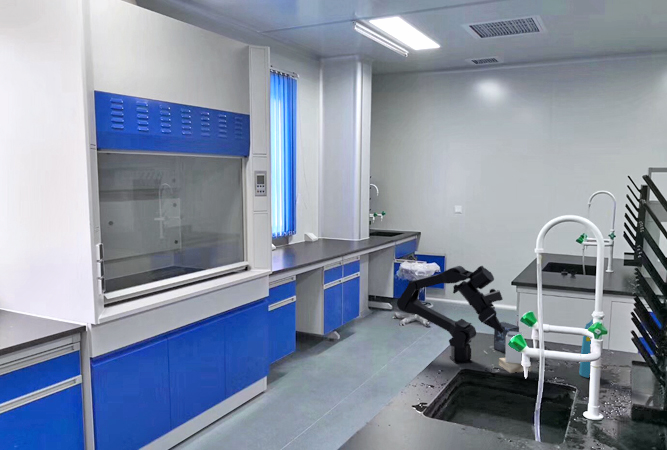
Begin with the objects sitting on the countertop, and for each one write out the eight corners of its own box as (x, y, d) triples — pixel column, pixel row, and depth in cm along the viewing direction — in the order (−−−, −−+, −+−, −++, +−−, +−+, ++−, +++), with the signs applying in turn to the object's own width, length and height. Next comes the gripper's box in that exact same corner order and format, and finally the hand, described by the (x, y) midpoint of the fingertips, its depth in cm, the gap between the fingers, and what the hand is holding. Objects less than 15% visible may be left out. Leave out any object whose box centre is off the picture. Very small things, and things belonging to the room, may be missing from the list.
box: (493, 349, 203) (493, 323, 202) (503, 346, 205) (504, 321, 204) (508, 354, 196) (509, 328, 195) (519, 352, 198) (519, 326, 198)
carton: (505, 361, 181) (505, 334, 180) (507, 357, 186) (507, 330, 185) (521, 364, 178) (522, 336, 178) (523, 359, 183) (523, 332, 183)
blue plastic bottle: (593, 380, 170) (594, 324, 168) (577, 377, 173) (579, 322, 171) (596, 373, 176) (598, 319, 174) (581, 370, 179) (583, 317, 177)
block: (510, 374, 177) (510, 365, 177) (498, 366, 185) (499, 358, 185) (531, 372, 179) (531, 364, 178) (519, 364, 187) (519, 356, 186)
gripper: (491, 284, 176) (522, 320, 173) (489, 279, 194) (517, 311, 191) (466, 304, 178) (496, 339, 175) (466, 297, 196) (493, 329, 193)
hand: (501, 329), depth 183 cm, fingers open, 9 cm apart
